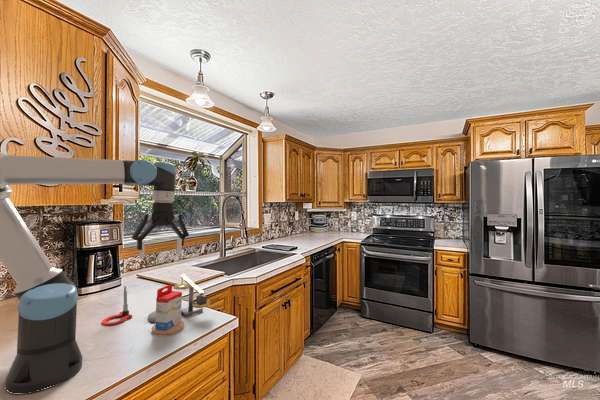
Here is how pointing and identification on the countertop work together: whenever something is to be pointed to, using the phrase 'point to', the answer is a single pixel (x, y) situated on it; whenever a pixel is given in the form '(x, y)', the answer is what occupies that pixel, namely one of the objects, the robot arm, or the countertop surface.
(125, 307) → the tow hook
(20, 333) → the robot arm
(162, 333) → the dish low
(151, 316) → the dish high
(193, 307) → the balance
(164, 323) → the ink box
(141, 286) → the countertop surface
